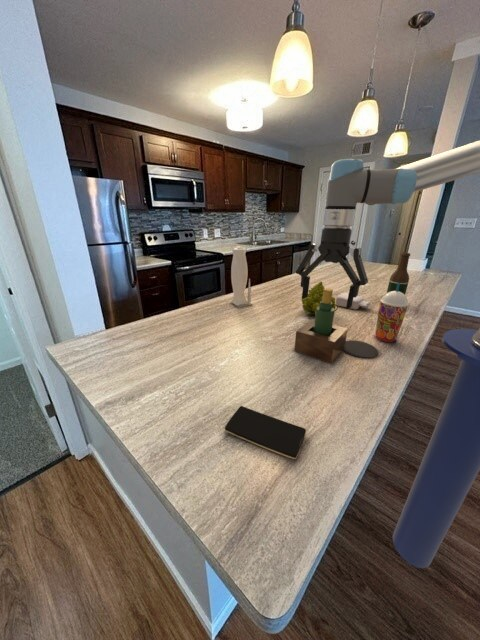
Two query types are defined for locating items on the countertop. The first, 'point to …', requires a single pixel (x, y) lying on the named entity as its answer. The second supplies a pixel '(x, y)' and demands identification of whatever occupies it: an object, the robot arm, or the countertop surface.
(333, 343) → the holder
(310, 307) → the vegetable
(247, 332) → the countertop surface
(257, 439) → the smartphone
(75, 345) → the countertop surface
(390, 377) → the countertop surface
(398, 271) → the beer bottle
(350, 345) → the coaster
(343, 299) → the charger
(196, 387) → the countertop surface
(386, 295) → the smoothie
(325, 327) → the bottle
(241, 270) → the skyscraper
